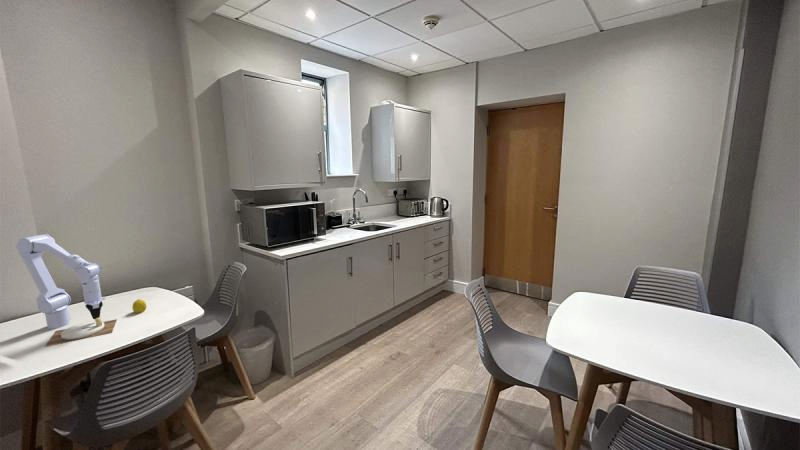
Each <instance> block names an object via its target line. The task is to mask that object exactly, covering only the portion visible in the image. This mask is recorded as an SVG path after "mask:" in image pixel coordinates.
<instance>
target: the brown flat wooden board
mask: <svg viewBox="0 0 800 450" xmlns="http://www.w3.org/2000/svg"><path fill="white" fill-rule="evenodd" d="M117 320H118V319H117V318H115V319H112V320H106V321H102V322H103V323H104V326H105V327H104V329H103V330H102V331H100V332H98V333H96V334H94V335H91V336H88V337H84V338H80V339H74V340H64V339H62V338H61V332H62V331H64V330H65V329H66V328H63V329H60V330H55V331H54V333H53V334H52V336H50V338H49V339H48V341H47V343H45V345H44V348H46V347H47V348H48V347H51V346H52V347H53V346H55V345H61V344H65V343H70V342H71V343H72V342H76V341H81V340H84V339H89V338H94V337H95V338H96V337H99V336H106V335H108V334H110V335H111V334H113V331H114V328H115V326H116V324H117Z"/></svg>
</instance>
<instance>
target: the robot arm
mask: <svg viewBox="0 0 800 450" xmlns="http://www.w3.org/2000/svg"><path fill="white" fill-rule="evenodd" d="M15 249H16V250H17V251H18V253H19V256H20V257H21V259H22V262H23V263H24V265H25V267H26V268H27V270H28V272H29V274H30V276H31V279H32V280H33V282H34V284H35V285H36V288H37V289H38V291H39V295H38V296H37V297H36V299H35V301H36V303H37V309H38V310H39V311H40V312H41V313H42V314H44V317H45V322H46V327H47V329H48V330H52V329H54V330H55V329H59V328H62V327H65V326H68V325H69V324H71V323H70V321H71V314H70V309H69V305H70V304H71V302H72V298H71V296H70V295H69V294H68V293H67V292H66V290H65V289H63V288H59V287H57V285H56V283H55V281H54V279H53V277H52V276H51V274H50V272H49V270H48V268H47V266H46V265H45V262H44V260H43V259H42V256H43V254H44V253H45V252H46V253H48V254H50V255H52V256H53V257H56V258H58V259H59V260H61V261H62V264H63V265H64V266H65V267H67V268H69V269H70V270H71V271H73V272H75V275H76V277H77V279H79V282H80V283H81V285H82V291H83V292H82V294H83V297H84V303H83V304H85V308H86V309H87V310H88V311H89V313H90V315H91V317H92V319H93V320H95V319H96V318H100V317H101V310H102V307H103V305H104V303H103V301H104V300H105V299H106V297H105V296H102V291H101V285H100V278H99V276H100V274H101V273H102V269H101V266H100V265H99V264H98V263H94V262H93V263H92V262H88V261H87V260H85V259H84V258H82V257H81V256H80V255H78V254H70V253H69V252H68V251H67V250H65V249H64V248H63V247H61V246H60V245H59V244H57V243H56V241H55V238H54V237H51V235H49V234H47V233H43V234H38V235H33V236H28V237H21V238H18V240H17V242H16V244H15Z"/></svg>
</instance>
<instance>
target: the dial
mask: <svg viewBox="0 0 800 450" xmlns="http://www.w3.org/2000/svg"><path fill="white" fill-rule="evenodd" d="M103 322H104V321H102V317H101V316H100V318H96V319H94V321H88V322H82V323H80V324H79V323H78V324H76V325H72V326H70V327H67V328H64V329H65V330H64V331H62V332H61V338H62V339H64V340H74V339H80V338H84V337H88V336H91V335H94V334H96V333H98V332H100V331H102V330H103V329H104V327H105V326H104V323H103Z"/></svg>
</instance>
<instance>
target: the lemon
mask: <svg viewBox="0 0 800 450" xmlns="http://www.w3.org/2000/svg"><path fill="white" fill-rule="evenodd" d="M146 309H147V303H146V302H145V300H143V299H139V298H138V299H136V300H135V301H134V302H133V303H132V311H133V312H134V313H135V314H140V313H141V314H143V313H144V312H145V311H146Z"/></svg>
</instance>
